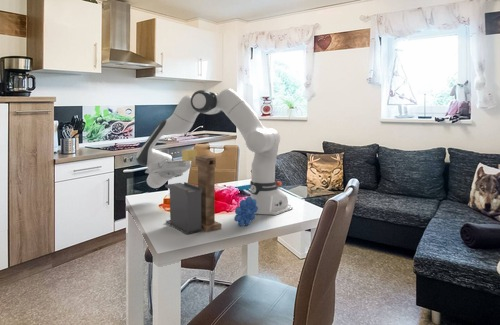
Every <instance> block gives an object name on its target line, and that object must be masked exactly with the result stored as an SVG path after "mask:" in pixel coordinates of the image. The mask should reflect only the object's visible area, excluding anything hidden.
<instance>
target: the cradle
mask: <svg viewBox="0 0 500 325" xmlns="http://www.w3.org/2000/svg"><path fill="white" fill-rule="evenodd" d="M164 186H165V188H166V189H169V213H170V214H169V215H170V216H169V217H170V219H168V220H165V223H166V225H169V226H171V227H172V228H174V229H176V230H178V231H179V232H181V233H183V234H185V235H190V234H196V233H199V232H204V231H203V229H202V228H201V193H202V188H201V187H198V185H196V184H193V183H189V182H183V183H182V182H176V183H169V184H164Z"/></svg>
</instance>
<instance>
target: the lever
mask: <svg viewBox="0 0 500 325" xmlns="http://www.w3.org/2000/svg"><path fill="white" fill-rule="evenodd" d="M234 187H235V188H238V189H239V190H240V191H246V192H248V193H250V194H251V190H250V184H244V185H239V186H234Z"/></svg>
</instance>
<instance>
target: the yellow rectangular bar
mask: <svg viewBox="0 0 500 325" xmlns="http://www.w3.org/2000/svg"><path fill="white" fill-rule="evenodd" d="M195 156H198V150H197V149H193V148H188V149H182V150H181V160H184V161H190V162H195ZM195 163H196V162H195ZM209 163H210V161H209Z"/></svg>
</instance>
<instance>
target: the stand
mask: <svg viewBox="0 0 500 325" xmlns="http://www.w3.org/2000/svg"><path fill="white" fill-rule="evenodd" d="M209 161H210V163H209ZM216 161H217V158H216V157H213V156H210V155H197V156H195V166H197V186H198V187H201V188H202V193H201V228H202V229H203V231H202V232H205V233H208V232H213V231H217V230H221V229H222V223H221V222H218V221H217V220H215V218H216V217H215V216H216V214H215V213H216V211H215V210H216V209H215V206H216V205H215V204H216V203H215V201H216V200H215V199H216V198H215V195H216V193H215V188H216V187H215V186H216V185H215V182H216V181H215V180H216V179H215V177H216V176H215V175H216V174H215V173H216V172H215V168H216V167H217V162H216Z"/></svg>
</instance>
